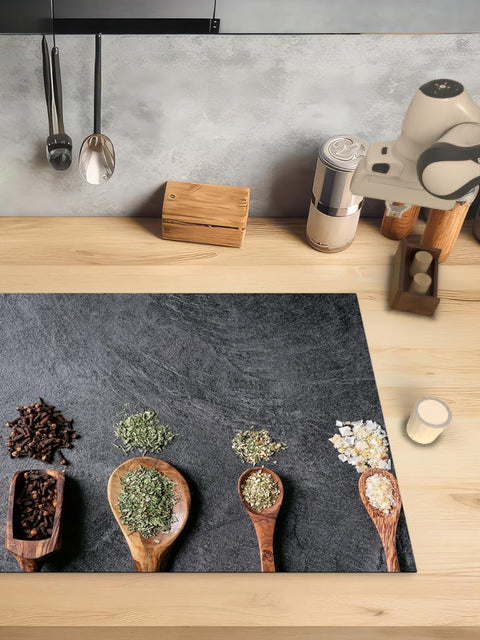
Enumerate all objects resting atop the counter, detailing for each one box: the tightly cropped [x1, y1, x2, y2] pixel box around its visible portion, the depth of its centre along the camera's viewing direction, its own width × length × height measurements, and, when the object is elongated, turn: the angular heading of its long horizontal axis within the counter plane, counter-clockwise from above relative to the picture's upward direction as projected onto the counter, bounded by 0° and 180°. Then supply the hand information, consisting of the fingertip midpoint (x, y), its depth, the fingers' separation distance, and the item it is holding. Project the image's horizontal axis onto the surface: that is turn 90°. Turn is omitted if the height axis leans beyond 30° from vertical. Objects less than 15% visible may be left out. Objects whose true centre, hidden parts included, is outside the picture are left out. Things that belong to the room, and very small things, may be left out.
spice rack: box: [389, 236, 443, 318], centre depth 161 cm, size 9×16×7 cm, turn 164°
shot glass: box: [406, 396, 453, 445], centre depth 139 cm, size 7×7×7 cm
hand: (393, 215), depth 150 cm, fingers closed
